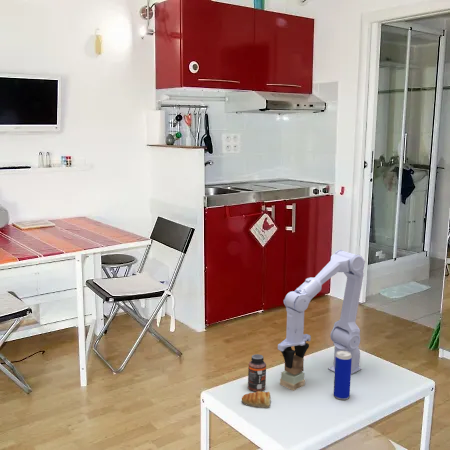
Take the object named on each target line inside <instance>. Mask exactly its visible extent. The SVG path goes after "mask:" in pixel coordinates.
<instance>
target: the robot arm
mask: <svg viewBox="0 0 450 450" xmlns="http://www.w3.org/2000/svg"><path fill="white" fill-rule="evenodd" d="M365 263H366V261H365V259H364V258H363V256H362V255H360V254H357V253H356V254H355V253H353V252H349V251H346V250H342V249H338V250H336V251H335V252H334V253H333V254H332V255H331V256H330V261H328V263H327V264H326V265H325V266H324V267H322V269H321V270H320V271H319V272H318V273H317V274H316V275H315V277H307V278H305V280H304V282H303V283H302V284H300V285H299V286H298V287H296V289H295V290H294V291H293V290H292V291H289V292H288V293H287V294H286V295H285V297H284V299H283V304H284V306H285V311H286V330H285V331H286V336H285V339H284V340H282V341H281V342H280V343H278V344H277V351H280V352H281V354H282V356H283V360H284V365H285V364H286V367H287V368H290V369H291V368H292V364H293V357H294V355H296V356H299V357H301V358H304V357H305V355H306V353H307V351H308V349H309V348H310V344H309V343H307V342H311V339H312V337H311V335H310V334H308V333H304V331H305V330H304V329H305V311H306V310H307V309H308V307H309V304H310V302H311V300H312V299H313V298H314V297H316V296H317V294H319V293H320V292H321V291H322V286H323V285H324V284H325V283H326V282H327V281H329V280H330V279H331V278H332V277H333V276H335V275H336V274H337V273H343V274H344V275H345V277H346V282H345V289H344V295H343V300H342V306H341V312H340V318H339V320H337V321H335V322H334V324H333V328H332V329H331V331H330V335H329V337H330V341H332V342H333V343H332V344H333V346H334V353H333V365H332V366H330V367H328V370H329V371H332V372H334V373H335V356H336V353H337V352H338V351H347V352H350V353H351V356H352V362H351V375H352V374H354V373H357V372H359V371H361V370H362V367H360V360H361V351H360V348H359V346H360V343H361V335H360V334H361V329H360V327H359V325H357V323H356V321H357V315H358V310H359V302H360V298H361V292H362V286H363V281H364V271H365V270H364V269H365ZM292 347H293V348H294V349H293V348H292Z"/></svg>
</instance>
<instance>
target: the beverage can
mask: <svg viewBox="0 0 450 450" xmlns="http://www.w3.org/2000/svg"><path fill="white" fill-rule="evenodd" d="M351 362H352V356H351V353H350V352H347V351H338V352H337V353H336V356H335V372H334V379H333V396H334V398H336V399H337V400H343V401H345V400H348V399H349V398H350V394H351V380H352V379H351V377H352V374H351Z"/></svg>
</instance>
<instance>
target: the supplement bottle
mask: <svg viewBox="0 0 450 450" xmlns="http://www.w3.org/2000/svg"><path fill="white" fill-rule="evenodd" d="M247 373H248V375H247V387H248V389H249V390H250V391H253V392H257V391H261V392H264V390H265V389H266V387H267V385H266V384H267V383H266V382H267V381H266V380H267V379H266V377H267V364H266V361H264V355H262V354H257V353H256V354H252V355H251V360H250V361H249V363H248V371H247Z"/></svg>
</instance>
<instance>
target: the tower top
mask: <svg viewBox="0 0 450 450" xmlns="http://www.w3.org/2000/svg"><path fill="white" fill-rule="evenodd" d="M280 373H281V374H280V375H281V376H280V379H282V380H284V381H286V382H289V383H291V384H293V385H294V384H296V383H298V382H300V381H302V380H304V379H305V372H304V371H302V372H300V373H298V374H295V375H294V374H291V373H289V372H287V371H285V370H284V371H281V372H280Z"/></svg>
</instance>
